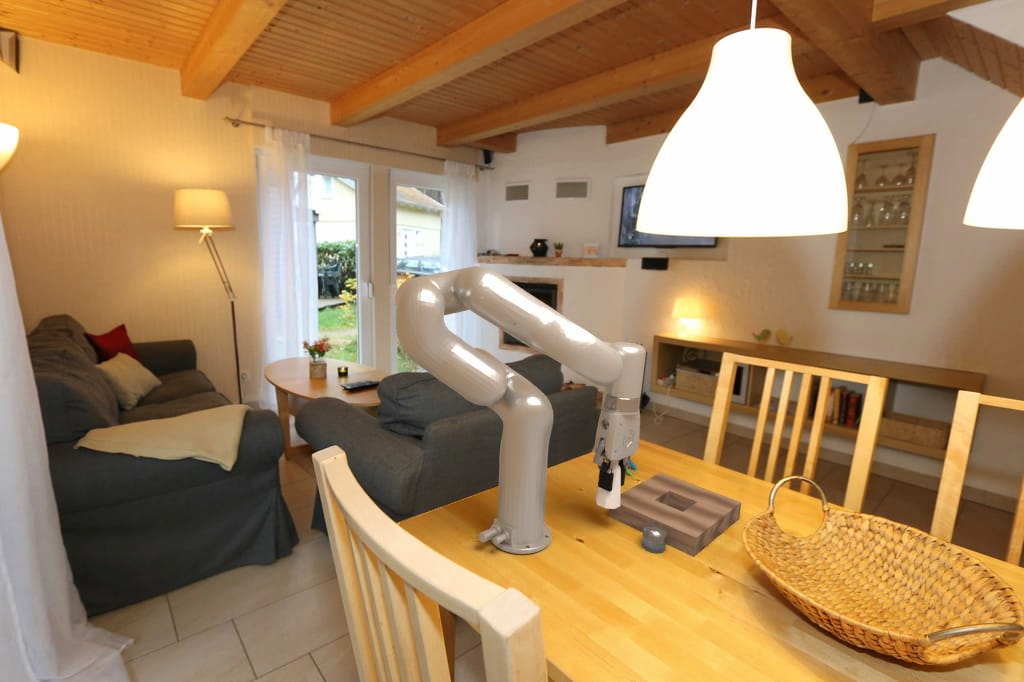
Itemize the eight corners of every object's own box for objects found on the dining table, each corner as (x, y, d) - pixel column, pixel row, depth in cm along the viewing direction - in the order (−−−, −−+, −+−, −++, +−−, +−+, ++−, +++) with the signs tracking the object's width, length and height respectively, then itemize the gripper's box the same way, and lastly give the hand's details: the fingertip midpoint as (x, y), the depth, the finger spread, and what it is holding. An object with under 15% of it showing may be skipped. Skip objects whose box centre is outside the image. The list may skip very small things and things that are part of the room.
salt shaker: (625, 508, 105) (631, 458, 103) (603, 510, 103) (609, 460, 101) (611, 496, 110) (617, 448, 108) (590, 498, 108) (595, 450, 106)
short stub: (658, 556, 97) (659, 537, 97) (637, 546, 101) (639, 528, 100) (669, 547, 100) (671, 529, 100) (649, 538, 104) (651, 520, 103)
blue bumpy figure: (610, 452, 144) (637, 434, 139) (624, 468, 144) (651, 450, 139) (603, 472, 134) (632, 453, 129) (618, 489, 134) (647, 471, 129)
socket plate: (693, 556, 98) (695, 537, 97) (608, 516, 112) (609, 499, 111) (739, 518, 113) (741, 502, 112) (659, 487, 127) (660, 472, 126)
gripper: (612, 413, 94) (602, 504, 97) (657, 401, 106) (647, 482, 109) (581, 403, 100) (572, 489, 103) (627, 392, 111) (618, 470, 114)
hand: (611, 485), depth 106 cm, fingers closed on salt shaker, 3 cm apart
